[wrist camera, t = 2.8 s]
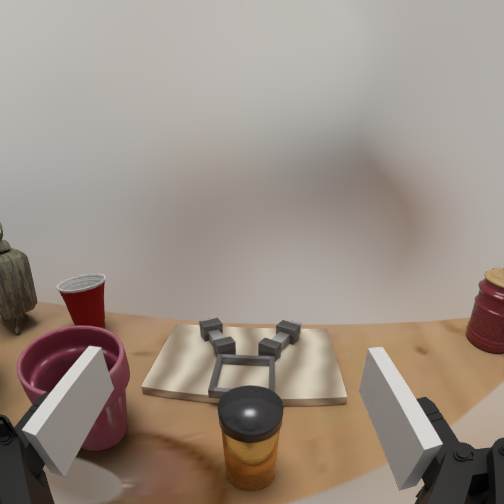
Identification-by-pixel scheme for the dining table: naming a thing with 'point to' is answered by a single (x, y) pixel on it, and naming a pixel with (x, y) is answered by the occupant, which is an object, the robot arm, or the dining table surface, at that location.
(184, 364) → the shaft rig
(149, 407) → the dining table surface
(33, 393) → the plant pot
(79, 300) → the plastic cup
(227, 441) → the orange translucent cylinder
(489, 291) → the canister
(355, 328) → the dining table surface
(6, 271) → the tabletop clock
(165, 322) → the dining table surface
